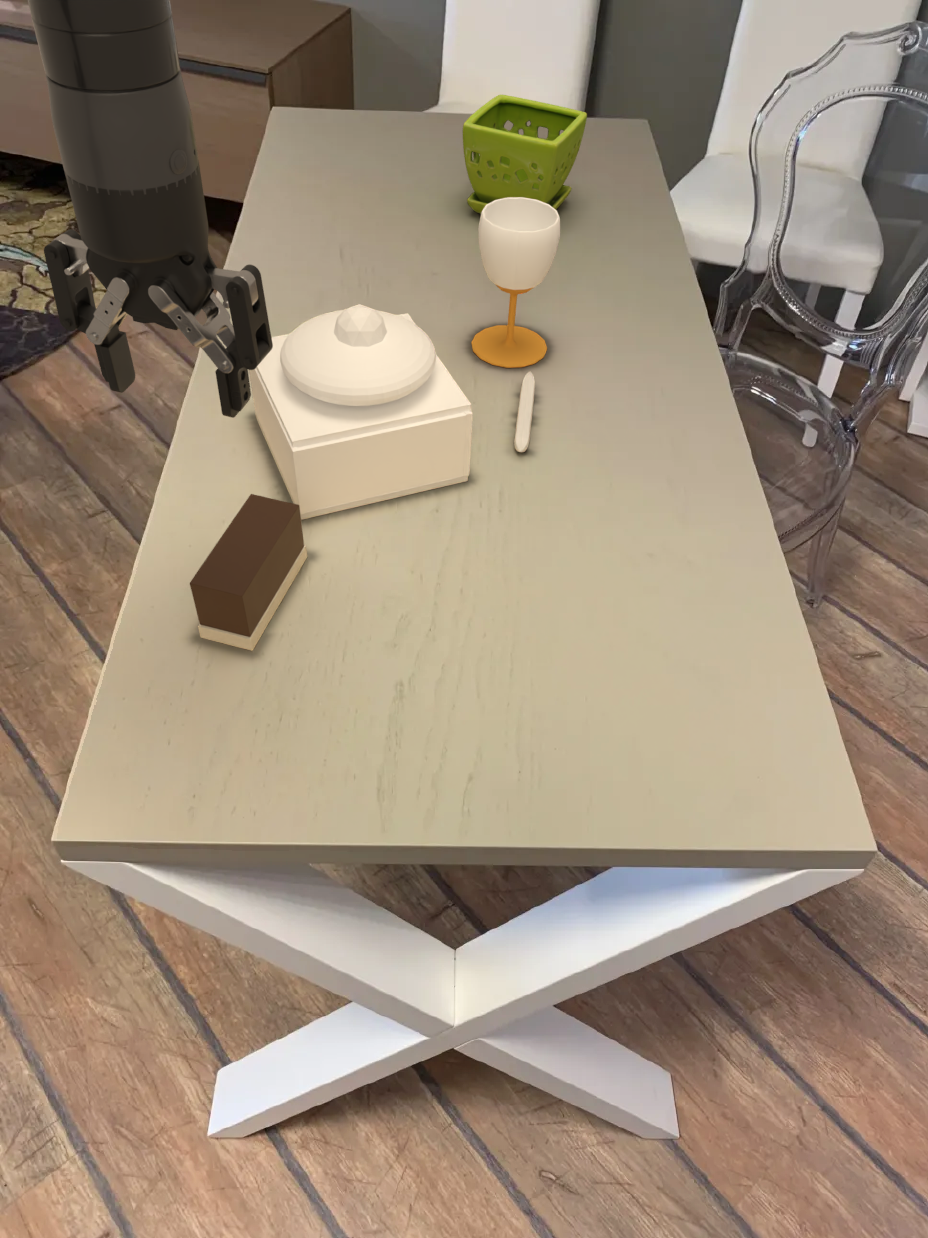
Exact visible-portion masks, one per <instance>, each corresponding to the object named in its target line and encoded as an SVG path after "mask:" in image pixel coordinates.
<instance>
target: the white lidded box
mask: <svg viewBox="0 0 928 1238" xmlns="http://www.w3.org/2000/svg"><path fill="white" fill-rule="evenodd" d="M271 338H272V344H273V347H272V350H271V351H270V352H269V353H268V354H267V355H266V357H265V358H264V359H263V360H262V361H261V362H260V364H259V365H258V366H257V367H256V368H255V369H254V370H248V375H249V382H250V389H251V396H252V400H253V407H254V414H255V419H256V422H257V424H258V426H259V429H260V431H261V433H262V435H263V437H264V439H265V442H266V444H267V447H268V449H269V451H270V453H271V456H272V458H273V461H274V463H275V465H276V467H277V469H278V471H279V474H280V477H281V479H282V481H283V484H284V486H285V488H286V490H287V493H288V495H289V497H290V499H291V501H292V503H293V504H297V505H299V507H300V515H301V521H302V520H307V519H311V518H315V517H319V516H324V515H328V514H332V513H336V512H340V511H345V510H349V509H353V508H357V507H358V508H359V507H363V506H366V505H370V504H375V503H379V502H383V501H389V500H392V499H396V498H401V497H405V496H409V495H414V494H417V493H422V492H427V491H430V490H434V489H439V488H443V487H444V488H445V487H448V486H453V485H456V484H460V483H461V484H462V483H465V482H468V480H469V479H468V477H469V476H470V472H471V471H470V470H471V451H472V436H473V418H474V417H473V416H474V414H473V412H472V403H471V402H470V400H469V399H468V397H467V396H466V395H465V393H464V392H463V391H462V389H461V388H460V386H459V384H458V383H457V382H456V380H455V379H454V377H453V376H452V375H451V373H450V372H449V370H448V369H447V368H446V366H445V364H444V363H443V362H442V360H441V358H440V357H439V356H438V354H437V352H436V348H435V345H434V343H433V341H432V339H431V337H430V336H429V335H428V334H427V333H426V332H425V330H423V329H422V328H421V327H420V326H419V325H417V324H416V322H415V321H414V320H413V318H412V316H411V315H410V314H409V313H408V312H407V313H406V312H405V313H401V314H394V313H391V312H387V311H384V310H383V311H382V310H378V309H374V308H372V307H369V306H366V305H363V304H361V303H358V304H356V305H352V306H350V307H348V308H345V309H338V310H334V311H330V312H325V313H322V314H319V315H317V316H314V317H312V318H309V319H307V320H305V321H304V322H302V323H300V324H299V325H298V326H297V327H296V328H295V329H293V330H292V331H291V332H290V333H287V334H281V335H275V336H271Z"/></svg>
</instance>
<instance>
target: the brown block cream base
mask: <svg viewBox="0 0 928 1238" xmlns="http://www.w3.org/2000/svg"><path fill="white" fill-rule="evenodd" d="M307 549H308V548H307V545H306V544H305V541H304V533H303V524H302V520H301V515H300V507H299V505H297V504H293V502H288V501H284V500H280V499H276V498H270V497H268V496H267V497H266V496H262V495H259V494H254V493H251V494H249V496H248V497H247V499H246V500H245V502H243V505H242V506H241V508H240V509H239V511H238V512H237V514H236V515H235V516H234V518H233V519H232V521H231V522H230V524H228V527H227V528H226V529H225V531H224V532H223V534H221V537H220V538H219V540H218V541H217V543H216V544H215V545H214V547H213V548H212V550H211V551H210V552H209V554H208V555H207V557H206V559H205V560H204V562H203V563H202V564H201V565H200V567H199V568H198V570H197V572H196V573H195V574H194V575H193V577H192V579H191V580H190V582H189V586H190V590H191V594H192V598H193V602H194V607H195V611H196V615H197V619H198V625H197V629H198V633H199V637H200V638H201V639H204V640H208V641H213V642H217V643H221V644H224V645H228V646H231V647H232V646H233V647H236V648H240V649H244V650H248V651H254V649H255V647H256V646H257V644H258V642H259V640H260V639H261V636H263V634H264V632H265V630H266V628H267V627H268V625H269V623H270V622H271V620H272V618H273V617H274V615H275V614H276V611H277V610H278V608H279V606H280V604H281V602H282V601H283V600H284V597H285V596H286V594H287V593H288V591H289V589H290V588H291V586H292V584H293V583H294V581H295V580H296V577H297V575H298V574H299V572H300V570H301V569H302V567H303V565H304V564H305V562H306V561H307V558H308V550H307Z"/></svg>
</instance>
